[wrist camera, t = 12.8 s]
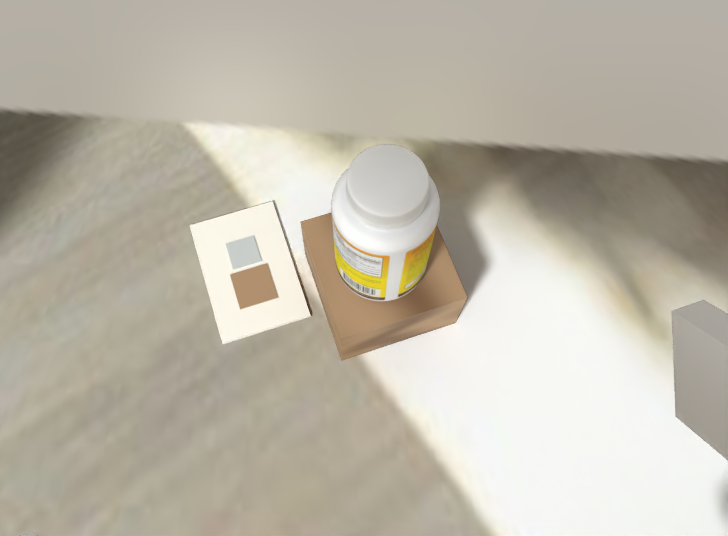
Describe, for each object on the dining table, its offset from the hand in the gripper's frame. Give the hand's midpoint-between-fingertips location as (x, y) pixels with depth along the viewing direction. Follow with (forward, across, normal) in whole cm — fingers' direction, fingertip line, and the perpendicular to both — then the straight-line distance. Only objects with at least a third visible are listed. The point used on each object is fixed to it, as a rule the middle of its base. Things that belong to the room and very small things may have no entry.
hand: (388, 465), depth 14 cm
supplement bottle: (+27, +6, -8) cm, 29 cm away
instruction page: (+34, -2, -8) cm, 35 cm away
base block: (+31, +6, -11) cm, 33 cm away
